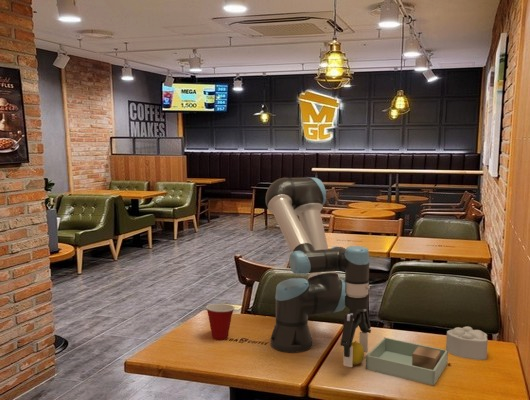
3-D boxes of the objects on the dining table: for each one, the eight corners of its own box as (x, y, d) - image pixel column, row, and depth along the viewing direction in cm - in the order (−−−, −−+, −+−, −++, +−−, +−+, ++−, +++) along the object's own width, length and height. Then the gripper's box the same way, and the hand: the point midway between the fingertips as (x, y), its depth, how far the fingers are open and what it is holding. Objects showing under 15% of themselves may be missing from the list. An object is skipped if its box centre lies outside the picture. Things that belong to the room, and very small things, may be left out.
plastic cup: (240, 335, 188) (240, 304, 187) (223, 344, 179) (223, 312, 178) (218, 329, 194) (217, 300, 192) (200, 338, 185) (199, 307, 183)
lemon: (363, 369, 159) (364, 345, 158) (346, 368, 160) (346, 344, 159) (363, 362, 164) (364, 339, 164) (346, 360, 165) (347, 337, 165)
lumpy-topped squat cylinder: (486, 363, 164) (488, 338, 163) (445, 357, 169) (446, 332, 168) (486, 351, 174) (487, 327, 173) (446, 346, 179) (447, 322, 178)
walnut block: (411, 372, 156) (412, 353, 155) (417, 363, 162) (418, 346, 161) (434, 377, 152) (435, 358, 152) (439, 369, 158) (440, 350, 157)
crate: (365, 370, 158) (366, 355, 158) (384, 351, 173) (384, 337, 173) (433, 387, 147) (434, 371, 146) (447, 365, 162) (447, 350, 162)
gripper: (353, 306, 147) (352, 375, 149) (380, 287, 168) (379, 348, 170) (329, 302, 151) (329, 369, 153) (359, 284, 172) (359, 344, 174)
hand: (356, 358), depth 161 cm, fingers open, 13 cm apart
